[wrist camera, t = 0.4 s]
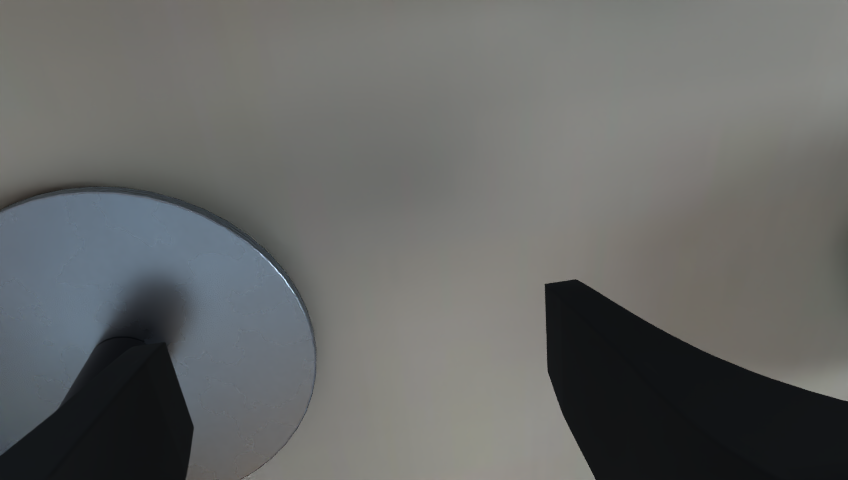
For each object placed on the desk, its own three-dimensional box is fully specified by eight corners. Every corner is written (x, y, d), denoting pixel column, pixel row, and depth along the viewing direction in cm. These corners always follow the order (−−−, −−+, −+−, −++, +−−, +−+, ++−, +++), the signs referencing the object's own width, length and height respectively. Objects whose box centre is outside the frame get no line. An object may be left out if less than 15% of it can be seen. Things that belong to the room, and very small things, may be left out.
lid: (344, 452, 26) (344, 576, 21) (23, 506, 25) (-57, 648, 20) (276, 151, 21) (254, 222, 16) (-136, 211, 20) (-298, 306, 15)
